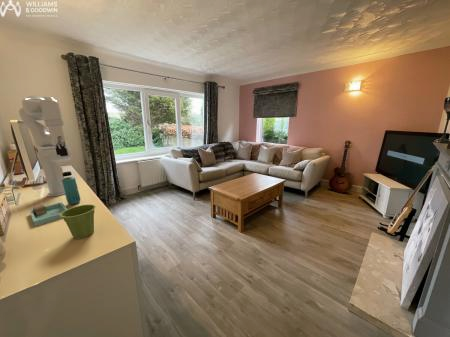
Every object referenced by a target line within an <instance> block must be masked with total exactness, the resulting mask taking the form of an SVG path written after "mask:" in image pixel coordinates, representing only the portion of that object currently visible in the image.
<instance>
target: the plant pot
mask: <svg viewBox="0 0 450 337" xmlns="http://www.w3.org/2000/svg"><path fill="white" fill-rule="evenodd" d="M96 207H97V206H96V205H95V204H81V205H78V206H73V207H70V208H67V210H65V211H63V212H62V213H61V214H60V216H61V217H63V218H62V219H63V221H64V222H65V224H66V225H67V228H68V229H69V231H70V233H71V236H72V237H73V238H74V239H75V240H80V239H84V238H87V237H88V236H91V235H93V234H94V232H95V209H96Z"/></svg>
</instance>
